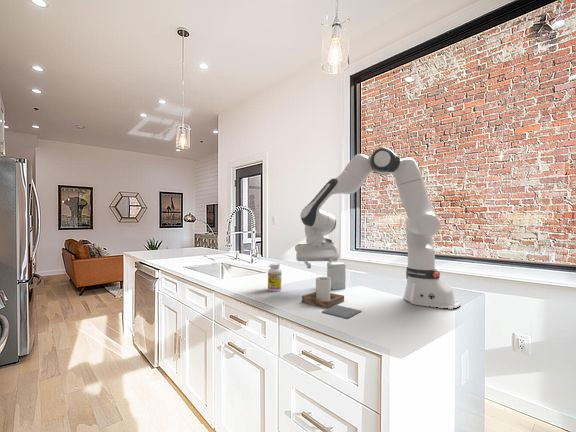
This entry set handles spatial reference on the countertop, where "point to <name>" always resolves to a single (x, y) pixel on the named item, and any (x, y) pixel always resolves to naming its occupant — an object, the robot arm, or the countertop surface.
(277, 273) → the supplement bottle
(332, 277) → the supplement box
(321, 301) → the walnut tray
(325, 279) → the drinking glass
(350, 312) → the charcoal mat
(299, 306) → the countertop surface
